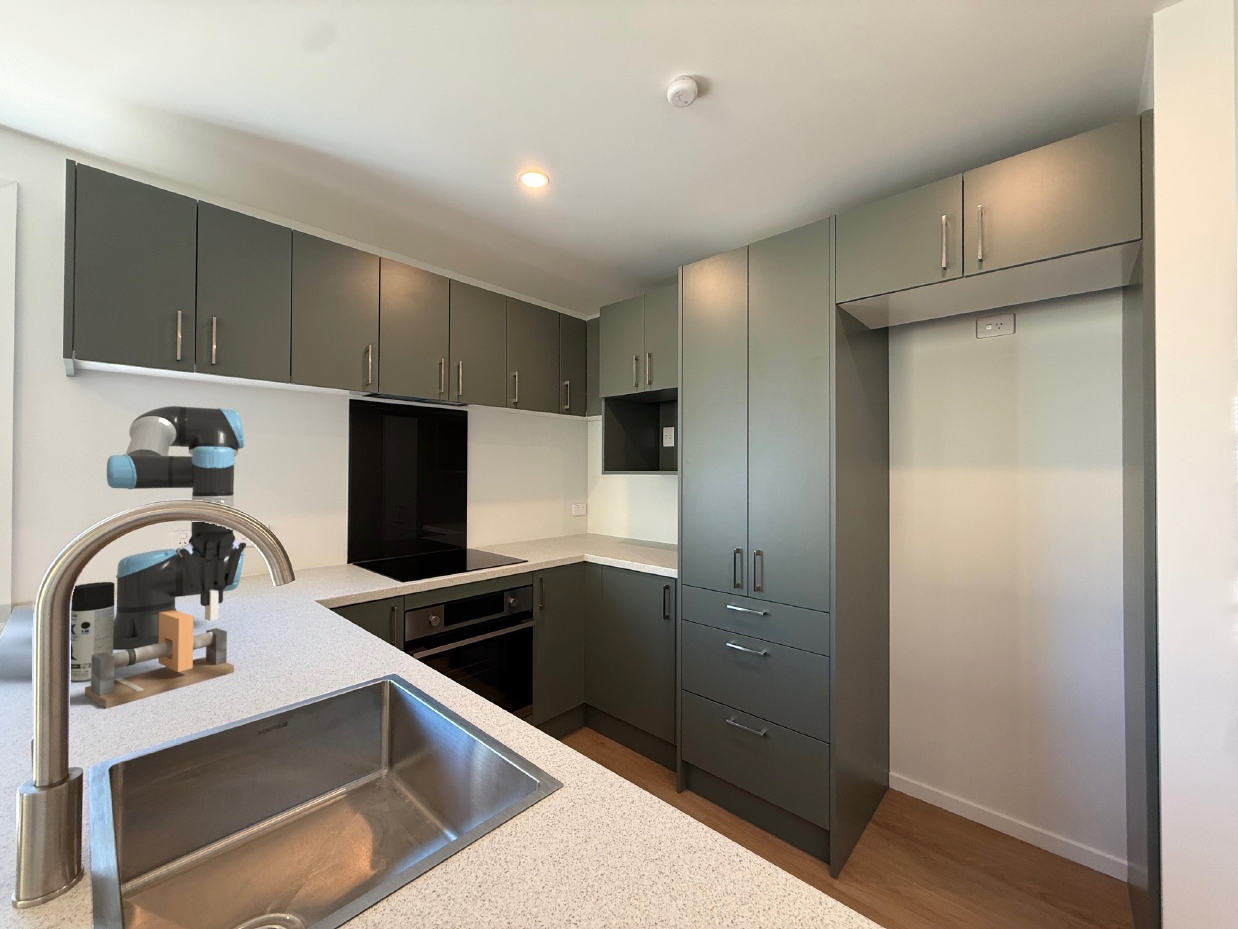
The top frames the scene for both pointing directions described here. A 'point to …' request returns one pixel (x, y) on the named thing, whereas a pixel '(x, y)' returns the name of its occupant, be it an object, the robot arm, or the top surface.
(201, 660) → the pipe stand
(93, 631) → the spray can
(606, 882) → the top surface
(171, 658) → the collar
